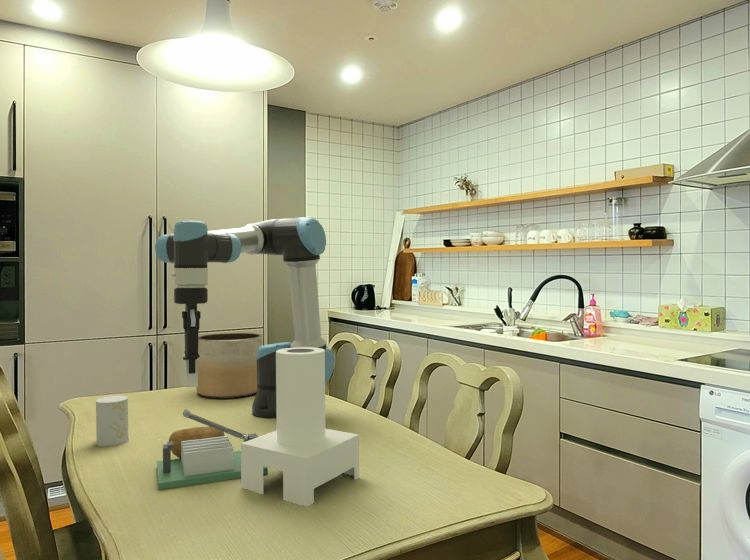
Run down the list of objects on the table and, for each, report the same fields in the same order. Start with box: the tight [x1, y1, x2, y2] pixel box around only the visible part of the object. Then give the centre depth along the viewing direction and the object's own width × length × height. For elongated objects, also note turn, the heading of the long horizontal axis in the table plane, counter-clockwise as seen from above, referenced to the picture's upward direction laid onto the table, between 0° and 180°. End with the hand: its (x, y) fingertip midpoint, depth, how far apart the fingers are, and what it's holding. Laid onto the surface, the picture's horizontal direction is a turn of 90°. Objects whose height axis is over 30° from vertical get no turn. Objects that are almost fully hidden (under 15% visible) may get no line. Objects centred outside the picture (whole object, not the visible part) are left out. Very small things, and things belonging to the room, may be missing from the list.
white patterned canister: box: [95, 395, 130, 447], centre depth 157 cm, size 8×8×12 cm
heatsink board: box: [156, 432, 269, 491], centre depth 133 cm, size 24×15×8 cm, turn 113°
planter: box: [196, 332, 263, 399], centre depth 218 cm, size 25×25×22 cm
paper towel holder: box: [240, 347, 360, 507], centre depth 126 cm, size 19×19×30 cm
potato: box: [168, 426, 226, 459], centre depth 142 cm, size 10×14×8 cm
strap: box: [182, 408, 248, 442], centre depth 134 cm, size 17×3×1 cm, turn 113°
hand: (191, 386), depth 132 cm, fingers closed
